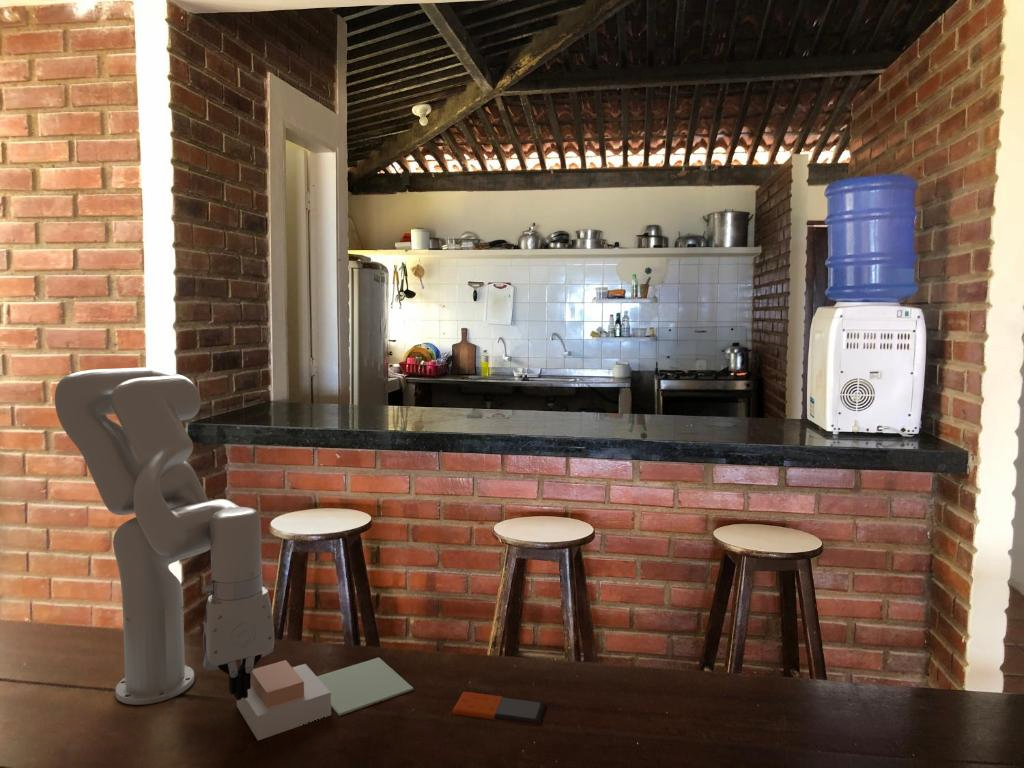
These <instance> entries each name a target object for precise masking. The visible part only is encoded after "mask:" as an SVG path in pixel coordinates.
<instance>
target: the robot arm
mask: <svg viewBox="0 0 1024 768" xmlns="http://www.w3.org/2000/svg"><path fill="white" fill-rule="evenodd" d="M201 403H202V399H201V395H200V392H199V389H198V387H197V386H196V384H195V383H194V382H193V381H192V380H191V379H189V378H188V377H187V376H185V375H182V374H178V373H175V372H170V371H166V370H163V369H158V368H155V367H146V366H145V367H140V366H139V367H124V368H121V367H120V368H96V369H88V370H87V369H85V370H80V371H76V372H73V373H70V374H68V375H66V376H64V377H63V378H61V380H60V381H58V383H57V385H56V388H55V391H54V407H55V411H56V416H57V418H58V421H59V423H60V426H61V427H62V429H63V430H64V432H65V433H66V435H67V436H68V437H69V439H70V440H71V441H72V442H73V444H74V445H75V446H76V448H77V449H78V451H79V452H80V454H81V455H82V458H83V459H84V461H85V463H86V466H87V468H88V471H89V473H90V475H91V477H92V480H93V482H94V483H95V486H96V489H97V492H98V494H99V495H100V498H101V500H102V502H103V504H104V505H105V507H106V509H108V511H109V512H111V513H112V514H114V515H117V516H126V515H127V516H128V515H133V514H135V517H133V518H131V519H129V520H127V521H124V522H123V523H122V524H121V525H120V526H119V527H118V528H117V529H116V531H115V532H114V535H113V539H112V547H113V553H114V557H115V560H116V563H117V564H116V565H117V568H118V573H119V574H118V575H119V579H120V580H119V581H120V587H121V588H120V589H121V605H122V606H121V609H122V622H123V623H122V625H123V626H122V629H123V651H124V653H123V654H124V657H123V658H124V675H125V677H123V678H122V679H121V680H120V681H119V682H118V683H117V685H116V686H115V698H116V699H117V700H118V701H119V702H121V703H123V704H127V705H131V706H133V705H134V706H137V705H138V706H139V705H140V706H142V705H151V704H156V703H160V702H163V701H168V700H170V699H172V698H174V697H176V696H179V695H181V694H182V693H184V692H185V691H186V690H188V689H189V688H190V687H191V686H192V685H193V684H194V681H195V679H196V678H195V671H194V669H193V668H191V667H190V666H189V665H186V662H185V657H186V656H185V636H184V635H185V633H184V632H185V629H184V599H183V595H184V594H183V588H182V583H181V581H180V580H179V578H178V577H177V576H176V575H175V574H174V573H173V572H172V571H171V569H170V568H169V566H170V565H171V564H173V563H176V562H179V561H181V560H184V559H188V558H191V557H194V556H196V555H197V556H198V555H201V554H203V553H206V552H208V551H209V550H210V567H211V568H210V571H211V573H210V575H211V576H210V579H209V582H208V583H206V584H205V585H201V592H202V595H205V594H206V595H207V594H208V595H209V596H208V598H207V601H206V605H205V613H204V622H203V635H202V638H203V639H202V640H203V643H202V644H203V647H202V648H203V653H204V658H203V662H202V666H203V668H204V670H205V671H216V670H217V671H218V670H220V671H222V672H224V673H225V674H227V675H228V691H229V694H230V695H233V696H234V697H235V699H236V702H237V701H238V700H241V698H248V689H251V672H252V671H253V669H254V667H255V666H256V665H257V664H258V662H259V661H260V660H261V658H264V657H266V656H268V655H270V654H272V653H273V652H274V650H275V649H274V646H275V627H274V617H273V611H272V610H273V609H272V604H271V598H270V593H269V590H268V589H267V588H266V587H264V586H263V569H262V568H263V565H262V564H263V562H262V521H261V519H262V518H261V515H260V513H259V511H258V510H256V509H255V508H252V507H247V506H240V505H237V504H236V503H235V502H233V501H231V500H229V499H226V498H218V499H217V498H216V499H211V500H209V498H208V496H207V493H206V492H205V490H204V488H203V486H202V484H201V482H200V480H199V478H198V476H197V473H196V471H195V470H194V468H193V467H192V466H191V464H190V463H189V462H188V461H187V459H188V458H190V456H191V454H192V453H193V450H194V443H193V440H192V439H191V437H190V436H189V434H188V432H187V430H186V429H185V426H184V425H183V423H182V421H188V420H191V419H193V418H194V417H196V416H197V414H198V413H199V412H200V409H201ZM107 415H116V418H117V421H118V422H119V424H118V423H116V422H115V421H113V420H111V419H110V418H108V417H107ZM238 661H240V665H239V667H238V666H237V662H238Z"/></svg>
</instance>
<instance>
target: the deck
mask: <svg viewBox="0 0 1024 768" xmlns="http://www.w3.org/2000/svg"><path fill="white" fill-rule="evenodd" d="M291 667H292V668H293V669H294V670H295V672H296V673H297V674H298V675H299V676H300V677H301V679H302V680H303V681H304V696H303V697H299V698H296V699H293V700H290V701H287V702H284V703H281V704H278V705H274V706H271V707H268V708H267V707H266V705H265V704H264V702H263V701H262V699H261V698H260V696H259V695H258V694H257V692H256V691H255V689H254V688H253V686H252V685H251V689H248V698H241V700H238V701H237V700H236V707H237V709H238V711H239V713H240V714H241V716H242V717H243V719H244V721H245V722H246V724H247V726H248V727H249V729H250V730H251V732H252V733H253V735H254V737H255V739H256V740H257V741H261V740H263V739H266V738H270V737H273V736H275V735H278V734H281V733H284V732H287V731H290V730H293V729H295V728H298V727H301V726H303V724H304V725H307V724H309V723H308V722H310V723H312V721H313V722H315V721H314V720H316V721H318V720H317V719H319V720H322V719H324V718H323V717H325V718H327V717H330V716H332V707H331V692H330V691H329V690H328V689H327V688H326V686H325V685H324V684H323V683H322V682H321V681H320V680H319V679H318V677H317V676H318V675H316V674H315V673H314V672H313V671H312V669H311V668H310V667H309V666H308V665H307V664H306V663H303V664H299V665H296V666H291ZM321 718H322V719H321Z"/></svg>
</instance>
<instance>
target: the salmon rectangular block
mask: <svg viewBox="0 0 1024 768" xmlns="http://www.w3.org/2000/svg"><path fill="white" fill-rule="evenodd" d="M292 667H293V666H292V665H291V664H290V663H289V662H288V661H287V660H286V659H284V660H280V661H277V662H275V663H270V664H267V665H264V666H259V667H256V668H253V671H252V672H251V673H250V675H251V685H252V686H253V688H254V689H255V691H256V692H257V694H258V695H259V696H260V698H261V699H262V701H263V702H264V704H265V705H266V707H267V708H268V707H271V706H274V705H278V704H281V703H284V702H287V701H290V700H293V699H296V698H299V697H303V696H304V681H303V680H302V679H301V677H300V676H299V675H298V674H297V673H296V672H295V670H294V669H293V668H292Z"/></svg>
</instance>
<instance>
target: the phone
mask: <svg viewBox="0 0 1024 768" xmlns="http://www.w3.org/2000/svg"><path fill="white" fill-rule="evenodd" d="M545 709H546V704H545V703H544V701H537V700H530V699H522V698H521V699H520V698H514V697H509V696H499V695H493V694H492V695H491V694H485V693H484V694H483V693H477V692H469V691H464V692H462V693H461V695H460V696H459V699H458V700H457V702H456V704H455V705H454V708H453V709H452V714H453V715H457V716H463V717H464V716H465V717H469V718H470V717H471V718H477V719H478V718H479V719H486V720H493V721H498V722H499V721H501V722H506V723H515V724H522V725H530V726H537V727H538V726H539V725H541V720H542V717H543V715H544V712H545Z"/></svg>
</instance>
